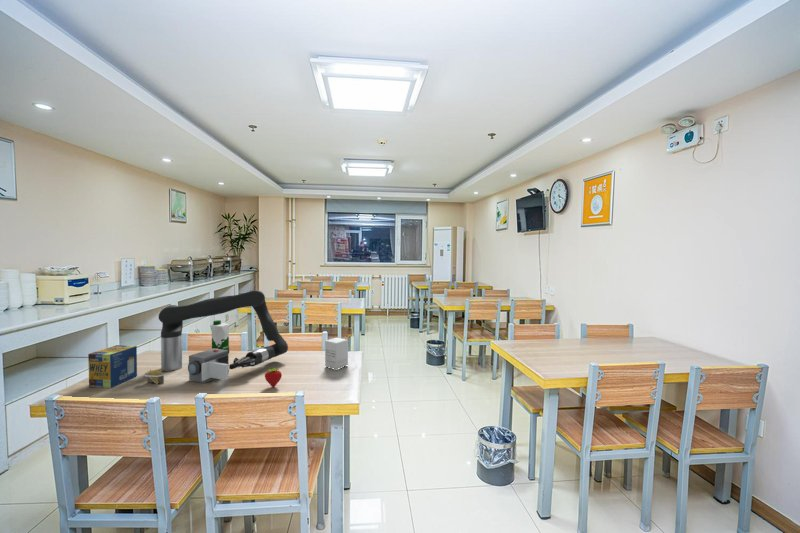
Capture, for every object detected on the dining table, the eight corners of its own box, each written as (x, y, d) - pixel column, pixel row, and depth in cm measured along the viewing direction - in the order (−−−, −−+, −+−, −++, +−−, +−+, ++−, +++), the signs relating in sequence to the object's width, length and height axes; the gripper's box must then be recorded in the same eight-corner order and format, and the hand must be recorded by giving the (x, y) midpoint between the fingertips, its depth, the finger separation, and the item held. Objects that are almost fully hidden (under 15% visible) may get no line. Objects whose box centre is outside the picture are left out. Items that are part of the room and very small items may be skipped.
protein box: (88, 387, 156) (87, 353, 156) (117, 375, 172) (117, 344, 171) (110, 388, 156) (109, 354, 155) (137, 376, 171) (137, 345, 171)
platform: (163, 390, 156) (163, 376, 155) (125, 389, 156) (124, 374, 156) (181, 380, 167) (181, 367, 167) (145, 379, 168) (145, 366, 168)
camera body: (200, 385, 161) (200, 358, 160) (184, 382, 164) (184, 355, 164) (229, 373, 176) (228, 348, 176) (213, 371, 180) (213, 346, 179)
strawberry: (279, 389, 157) (279, 367, 157) (262, 389, 157) (262, 367, 156) (283, 384, 163) (283, 363, 162) (267, 384, 163) (267, 363, 162)
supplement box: (336, 363, 195) (336, 337, 194) (348, 366, 190) (348, 339, 189) (324, 367, 187) (324, 340, 187) (336, 371, 182) (336, 343, 182)
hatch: (220, 384, 157) (220, 366, 157) (201, 380, 161) (201, 363, 161) (233, 379, 163) (232, 362, 163) (214, 375, 167) (214, 359, 167)
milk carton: (219, 351, 215) (218, 319, 214) (232, 352, 213) (231, 320, 212) (208, 355, 207) (208, 322, 206) (222, 356, 205) (221, 322, 204)
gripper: (247, 348, 184) (219, 357, 167) (267, 351, 179) (241, 361, 163) (247, 362, 184) (220, 373, 168) (267, 365, 179) (241, 376, 163)
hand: (230, 367), depth 165 cm, fingers closed
